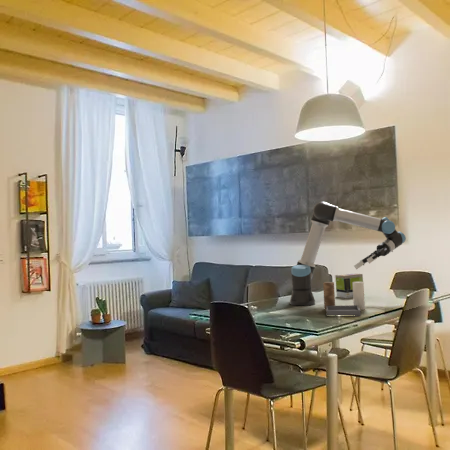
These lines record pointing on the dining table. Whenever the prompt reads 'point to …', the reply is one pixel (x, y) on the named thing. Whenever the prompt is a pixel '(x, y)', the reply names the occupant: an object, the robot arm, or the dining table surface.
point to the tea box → (346, 284)
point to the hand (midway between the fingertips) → (361, 264)
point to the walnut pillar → (329, 294)
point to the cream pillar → (358, 294)
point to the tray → (343, 310)
